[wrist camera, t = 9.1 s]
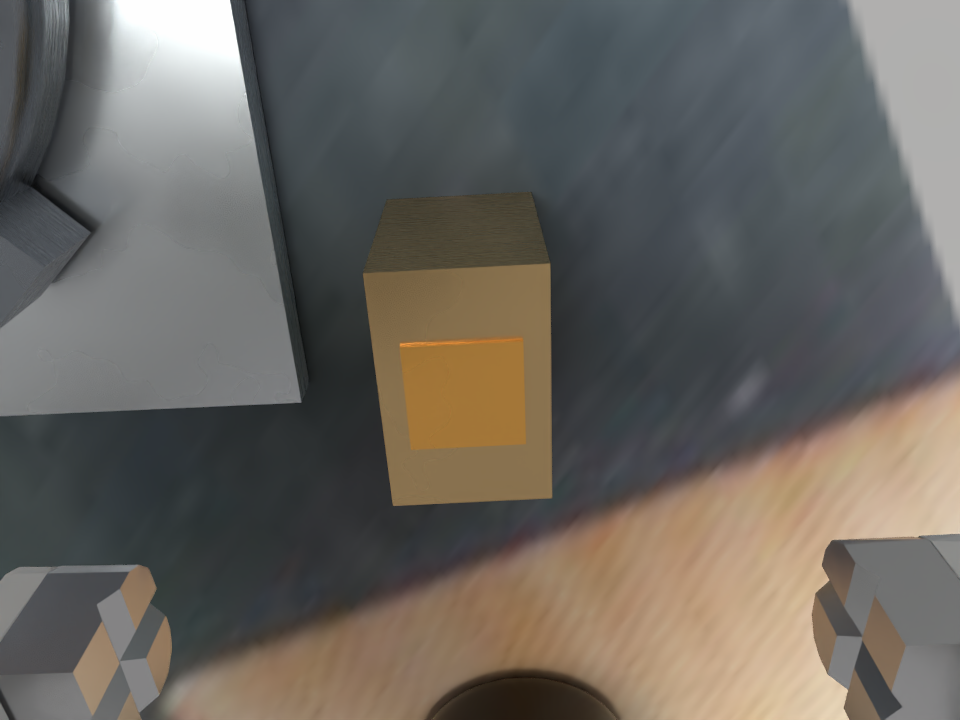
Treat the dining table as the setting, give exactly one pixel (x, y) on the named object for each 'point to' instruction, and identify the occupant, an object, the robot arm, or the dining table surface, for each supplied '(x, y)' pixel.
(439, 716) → the supplement bottle
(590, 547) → the dining table surface
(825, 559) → the robot arm
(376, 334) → the tan block
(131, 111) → the base plate
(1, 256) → the sprocket
